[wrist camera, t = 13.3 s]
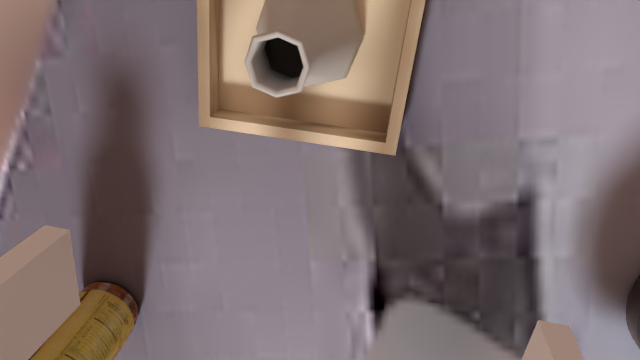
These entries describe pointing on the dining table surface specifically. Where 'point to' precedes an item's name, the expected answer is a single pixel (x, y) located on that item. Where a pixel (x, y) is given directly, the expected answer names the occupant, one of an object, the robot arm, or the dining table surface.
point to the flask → (303, 44)
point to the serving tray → (318, 100)
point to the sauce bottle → (93, 326)
